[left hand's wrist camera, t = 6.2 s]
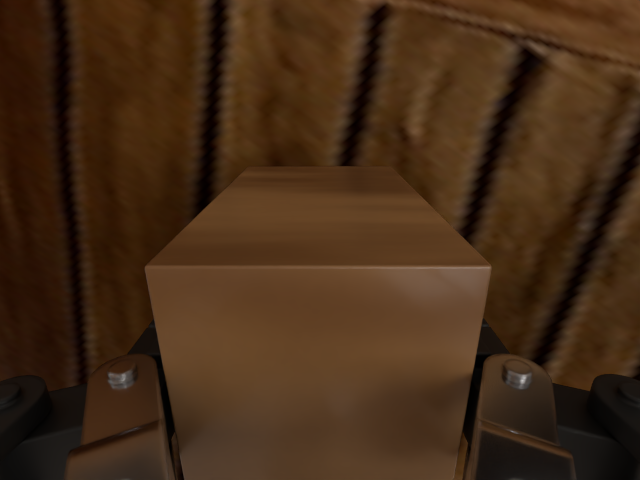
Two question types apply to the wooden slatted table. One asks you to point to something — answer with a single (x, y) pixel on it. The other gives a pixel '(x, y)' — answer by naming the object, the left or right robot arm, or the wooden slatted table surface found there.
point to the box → (318, 329)
